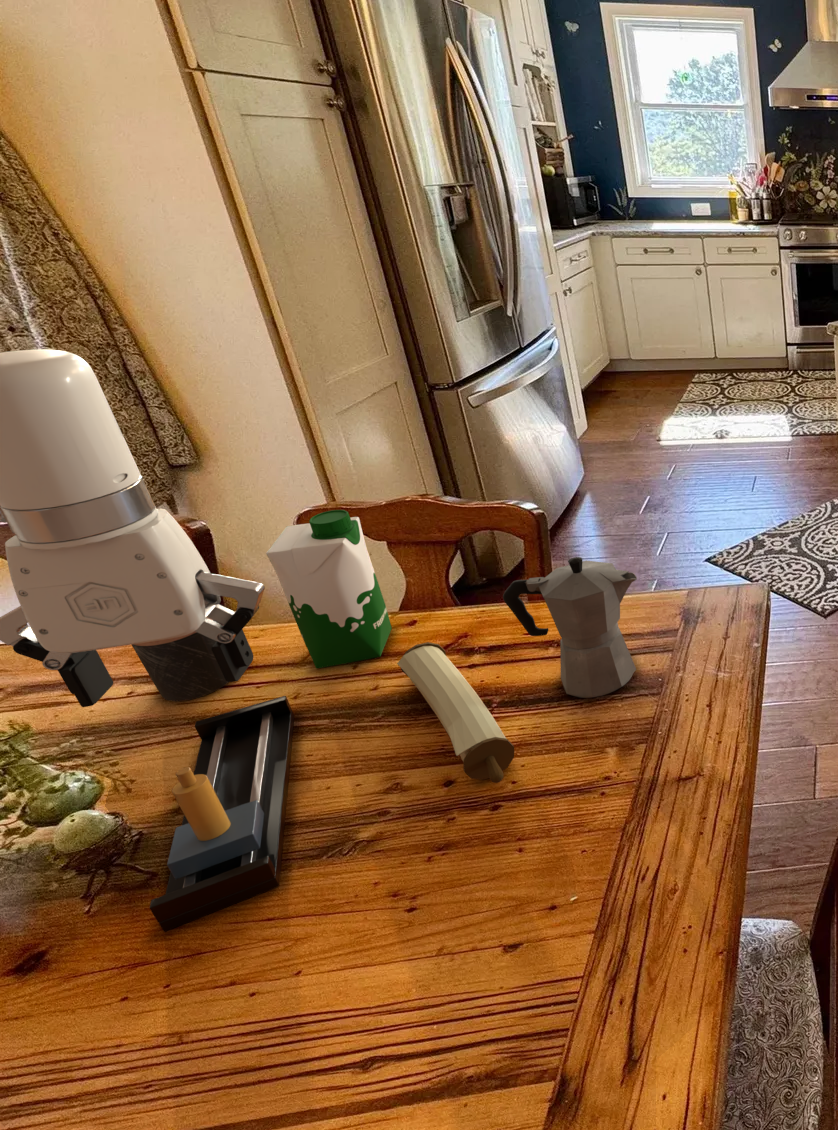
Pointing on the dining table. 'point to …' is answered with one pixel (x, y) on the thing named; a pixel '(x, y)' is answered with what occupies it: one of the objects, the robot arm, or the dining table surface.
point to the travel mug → (182, 666)
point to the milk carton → (332, 588)
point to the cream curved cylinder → (459, 712)
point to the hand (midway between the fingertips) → (171, 684)
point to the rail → (238, 776)
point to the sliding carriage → (210, 827)
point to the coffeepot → (582, 623)
